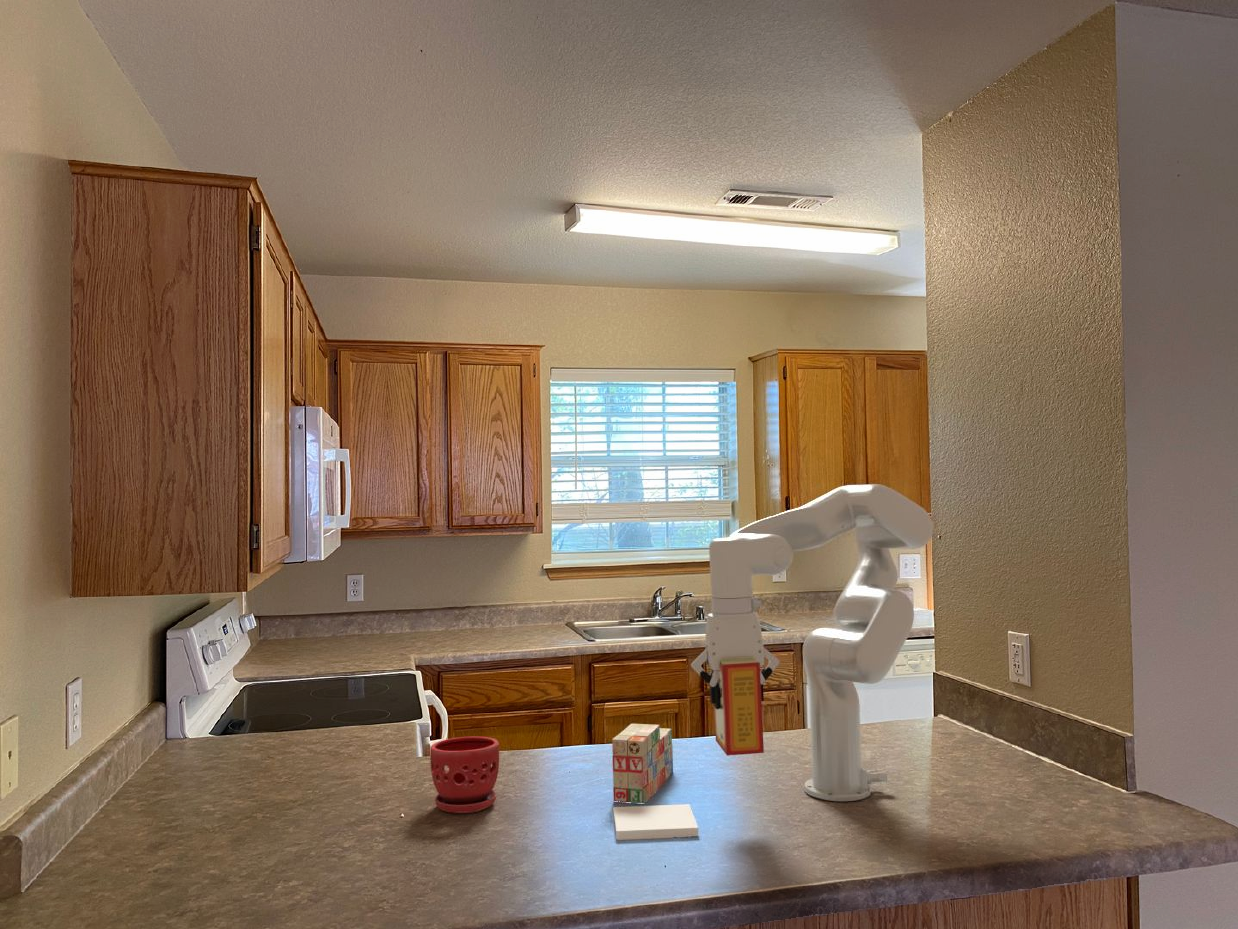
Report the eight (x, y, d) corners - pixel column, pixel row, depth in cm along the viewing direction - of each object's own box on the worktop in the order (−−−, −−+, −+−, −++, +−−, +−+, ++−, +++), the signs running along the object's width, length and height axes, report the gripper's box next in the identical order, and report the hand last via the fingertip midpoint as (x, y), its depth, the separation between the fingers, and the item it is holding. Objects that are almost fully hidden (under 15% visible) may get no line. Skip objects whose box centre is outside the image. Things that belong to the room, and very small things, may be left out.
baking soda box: (715, 740, 165) (711, 653, 165) (750, 738, 166) (746, 651, 166) (727, 755, 156) (722, 662, 156) (763, 753, 156) (759, 660, 157)
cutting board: (689, 812, 165) (689, 804, 165) (698, 836, 153) (698, 827, 153) (613, 815, 165) (613, 807, 165) (616, 840, 153) (616, 831, 153)
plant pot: (514, 804, 172) (513, 740, 173) (458, 823, 163) (457, 756, 163) (472, 790, 181) (471, 730, 182) (417, 807, 172) (416, 744, 172)
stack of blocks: (645, 770, 192) (644, 712, 193) (673, 773, 190) (672, 714, 191) (613, 803, 172) (611, 738, 172) (644, 806, 170) (642, 740, 170)
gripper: (775, 601, 166) (780, 699, 165) (682, 606, 165) (686, 704, 164) (785, 606, 158) (790, 708, 157) (687, 611, 157) (691, 714, 157)
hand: (737, 705), depth 161 cm, fingers closed on baking soda box, 6 cm apart
